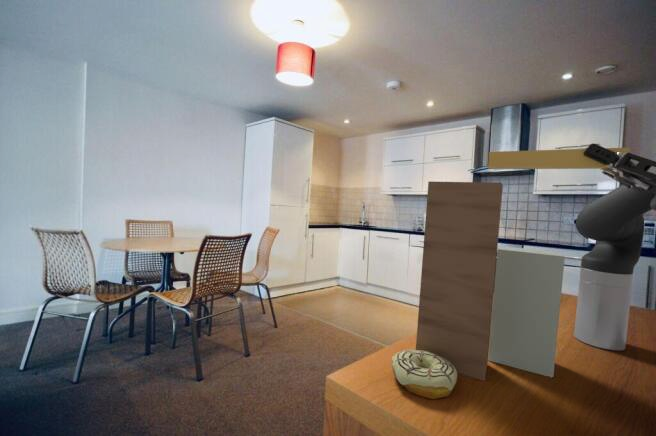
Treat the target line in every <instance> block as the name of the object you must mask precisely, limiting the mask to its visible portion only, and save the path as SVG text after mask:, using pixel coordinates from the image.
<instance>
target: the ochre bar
mask: <svg viewBox="0 0 656 436" xmlns="http://www.w3.org/2000/svg"><path fill="white" fill-rule="evenodd" d="M605 148H606V149H608V150H611V151H613V152H615V154H617V152H619V153H623V154H624V153H625V152H627V153H631V147H611V148H610V147H609V148H608V147H605ZM585 150H586V148H574V149H573V148H571V149H570V148H569V149H568V148H567V149H544V150H543V149H537V150H534V149H533V150H506V151H505V150H504V151H503V150H502V151H501V150H500V151H489V153H488V163H487V168H488V170H538V169H539V170H567V169H568V170H569V169H570V170H573V169H574V170H576V169H578V170H579V169H581V170H584V169H585V170H586V169H588V170H589V169H593V170H594V169H599V170H601V169H611V168H608V166H607V164H608V163H607V164H606V165H604V164H602V163H600V162H597V161H595V160H593V159H591V158H589V157H586V156H584V152H585ZM627 165H628V163H627V164H626V166H627Z"/></svg>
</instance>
